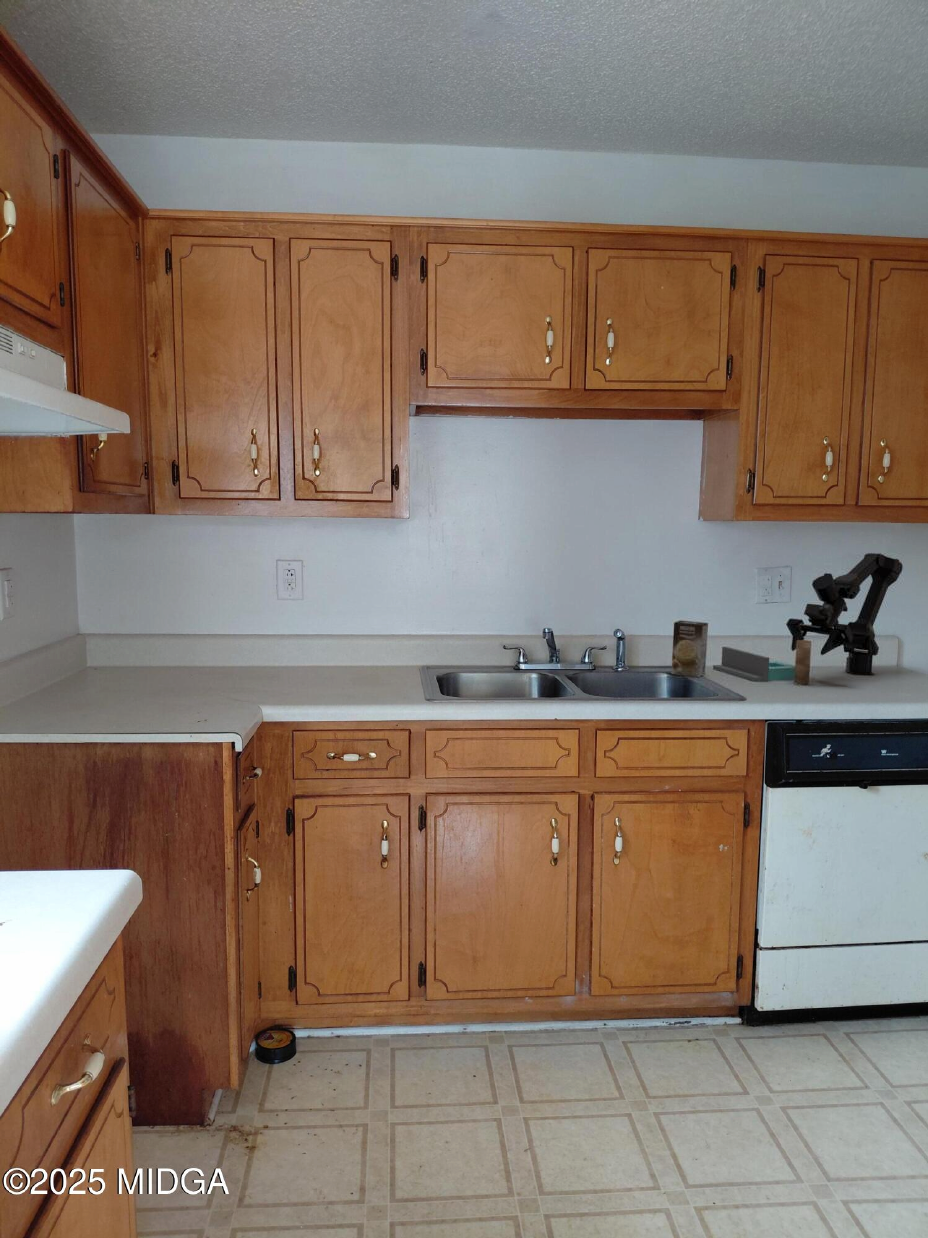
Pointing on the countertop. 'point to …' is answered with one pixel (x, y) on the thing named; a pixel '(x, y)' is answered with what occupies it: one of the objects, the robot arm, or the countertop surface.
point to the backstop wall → (744, 664)
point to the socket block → (780, 671)
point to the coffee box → (689, 648)
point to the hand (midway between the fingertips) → (806, 652)
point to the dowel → (802, 662)
